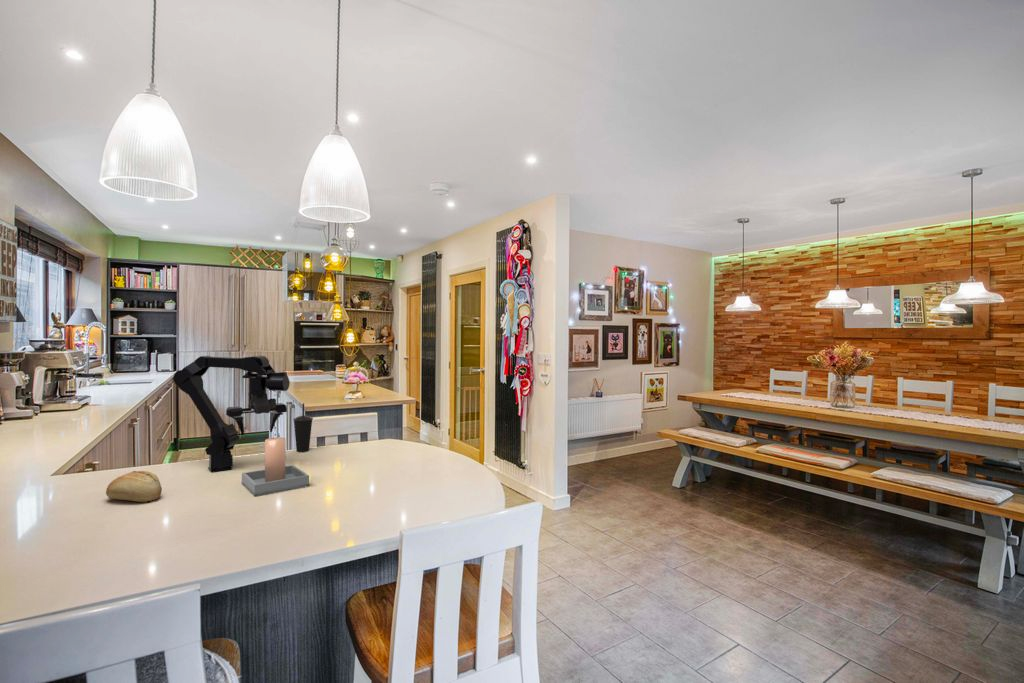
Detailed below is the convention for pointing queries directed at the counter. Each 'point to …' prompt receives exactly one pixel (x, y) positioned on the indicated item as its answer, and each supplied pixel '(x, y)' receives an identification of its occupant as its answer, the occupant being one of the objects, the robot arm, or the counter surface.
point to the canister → (275, 459)
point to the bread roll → (135, 487)
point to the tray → (259, 487)
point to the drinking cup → (302, 431)
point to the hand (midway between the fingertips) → (257, 433)
